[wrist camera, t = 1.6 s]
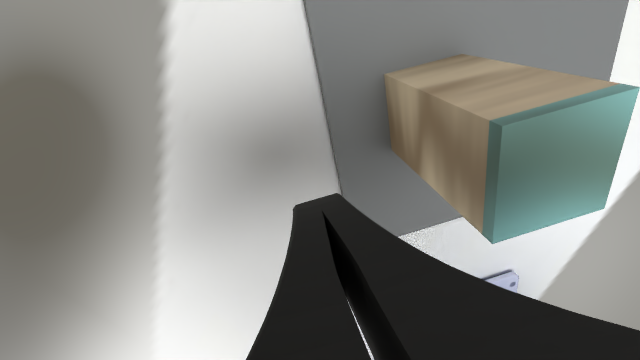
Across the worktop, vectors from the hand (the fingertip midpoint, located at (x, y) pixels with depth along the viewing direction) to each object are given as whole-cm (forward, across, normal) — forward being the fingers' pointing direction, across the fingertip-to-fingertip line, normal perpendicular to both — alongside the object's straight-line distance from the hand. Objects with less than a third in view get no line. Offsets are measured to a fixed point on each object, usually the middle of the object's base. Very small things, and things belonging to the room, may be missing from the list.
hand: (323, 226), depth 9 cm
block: (+7, -7, 0) cm, 10 cm away
